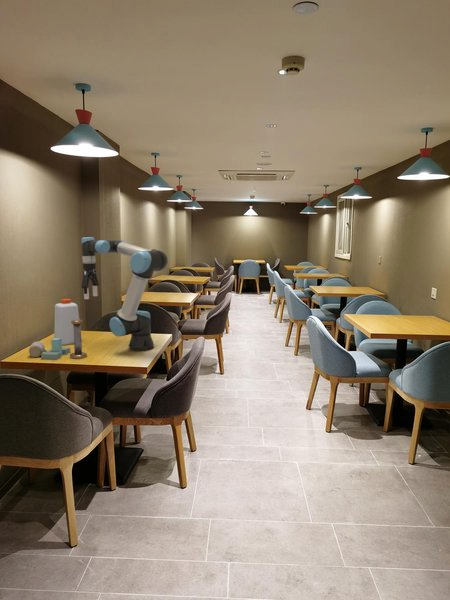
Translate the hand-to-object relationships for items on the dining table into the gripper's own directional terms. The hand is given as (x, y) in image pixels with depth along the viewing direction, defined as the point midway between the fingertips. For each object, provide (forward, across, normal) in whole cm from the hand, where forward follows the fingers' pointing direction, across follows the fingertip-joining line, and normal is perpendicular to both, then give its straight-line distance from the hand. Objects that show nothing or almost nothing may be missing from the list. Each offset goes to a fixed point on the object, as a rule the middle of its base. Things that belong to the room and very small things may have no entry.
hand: (91, 297), depth 282 cm
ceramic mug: (+31, +24, -23) cm, 45 cm away
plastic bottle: (+30, -9, -20) cm, 38 cm away
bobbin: (+31, +24, +1) cm, 39 cm away
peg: (+30, +24, -12) cm, 41 cm away
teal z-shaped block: (+30, +24, -13) cm, 41 cm away
